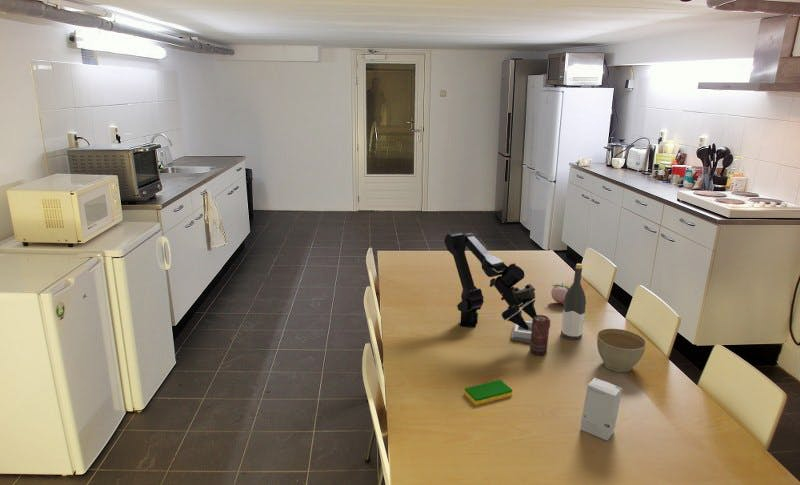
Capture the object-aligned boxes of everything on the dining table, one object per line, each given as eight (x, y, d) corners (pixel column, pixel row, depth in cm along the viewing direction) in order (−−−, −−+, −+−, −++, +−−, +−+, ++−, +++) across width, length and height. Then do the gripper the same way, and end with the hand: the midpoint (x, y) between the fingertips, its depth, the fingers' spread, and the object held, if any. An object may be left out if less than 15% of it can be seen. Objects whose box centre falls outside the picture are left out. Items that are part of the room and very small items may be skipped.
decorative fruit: (548, 305, 243) (550, 285, 240) (551, 299, 250) (553, 279, 247) (570, 309, 239) (572, 288, 236) (572, 302, 247) (574, 282, 244)
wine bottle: (583, 333, 216) (591, 262, 207) (580, 341, 209) (588, 269, 200) (562, 329, 219) (569, 259, 211) (559, 337, 212) (566, 265, 204)
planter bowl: (620, 382, 181) (624, 353, 178) (583, 361, 194) (587, 333, 191) (652, 371, 188) (657, 343, 185) (615, 351, 201) (619, 325, 198)
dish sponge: (512, 396, 172) (513, 390, 172) (475, 406, 167) (475, 399, 166) (500, 385, 179) (500, 379, 178) (463, 394, 173) (464, 388, 172)
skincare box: (579, 430, 155) (585, 384, 151) (587, 420, 160) (593, 376, 156) (608, 442, 150) (615, 395, 146) (616, 432, 155) (622, 386, 150)
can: (547, 357, 197) (551, 322, 193) (530, 355, 198) (533, 320, 194) (546, 349, 203) (550, 315, 199) (529, 347, 204) (532, 313, 200)
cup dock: (510, 339, 210) (511, 331, 209) (514, 326, 222) (515, 318, 221) (545, 344, 206) (545, 336, 205) (546, 330, 218) (547, 322, 217)
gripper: (511, 286, 190) (539, 323, 187) (532, 272, 205) (558, 306, 201) (490, 302, 197) (516, 337, 194) (511, 287, 211) (536, 320, 208)
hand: (532, 324), depth 199 cm, fingers open, 9 cm apart
